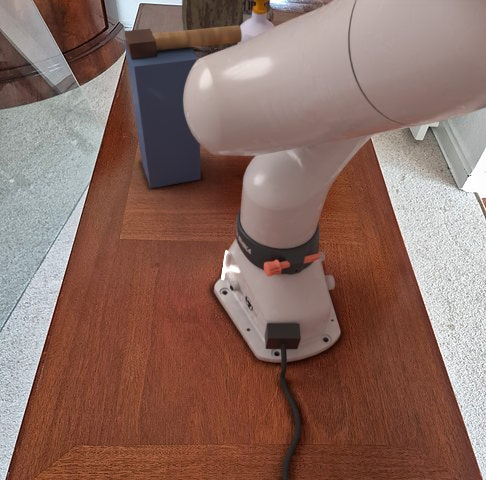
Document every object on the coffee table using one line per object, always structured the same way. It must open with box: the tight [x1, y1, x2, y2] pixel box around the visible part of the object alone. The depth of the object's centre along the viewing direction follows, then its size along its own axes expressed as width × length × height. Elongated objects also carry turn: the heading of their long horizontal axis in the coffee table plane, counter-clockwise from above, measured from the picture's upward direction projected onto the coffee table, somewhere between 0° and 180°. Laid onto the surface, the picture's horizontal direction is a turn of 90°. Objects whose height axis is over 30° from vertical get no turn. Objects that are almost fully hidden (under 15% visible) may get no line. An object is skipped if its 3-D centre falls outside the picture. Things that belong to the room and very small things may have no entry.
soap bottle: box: [238, 0, 276, 44], centre depth 105 cm, size 9×9×25 cm
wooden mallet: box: [123, 25, 242, 59], centre depth 72 cm, size 18×4×2 cm, turn 109°
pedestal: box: [123, 40, 202, 189], centre depth 82 cm, size 8×10×24 cm
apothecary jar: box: [243, 0, 274, 23], centre depth 119 cm, size 12×12×18 cm
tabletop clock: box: [181, 0, 243, 54], centre depth 109 cm, size 14×9×25 cm, turn 92°
